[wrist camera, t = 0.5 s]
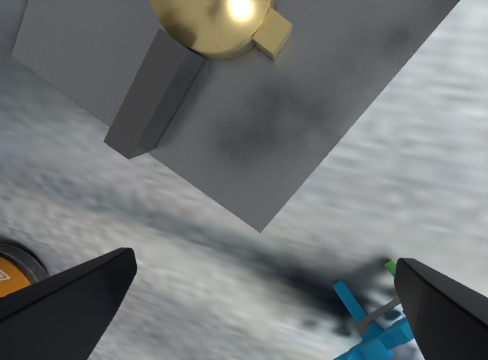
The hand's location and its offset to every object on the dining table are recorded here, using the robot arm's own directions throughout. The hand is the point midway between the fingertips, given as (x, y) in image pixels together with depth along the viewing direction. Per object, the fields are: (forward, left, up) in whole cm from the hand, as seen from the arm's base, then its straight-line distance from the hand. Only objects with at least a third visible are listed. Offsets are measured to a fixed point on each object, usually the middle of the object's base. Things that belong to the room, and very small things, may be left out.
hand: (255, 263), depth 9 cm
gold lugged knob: (-4, -10, -11) cm, 15 cm away
